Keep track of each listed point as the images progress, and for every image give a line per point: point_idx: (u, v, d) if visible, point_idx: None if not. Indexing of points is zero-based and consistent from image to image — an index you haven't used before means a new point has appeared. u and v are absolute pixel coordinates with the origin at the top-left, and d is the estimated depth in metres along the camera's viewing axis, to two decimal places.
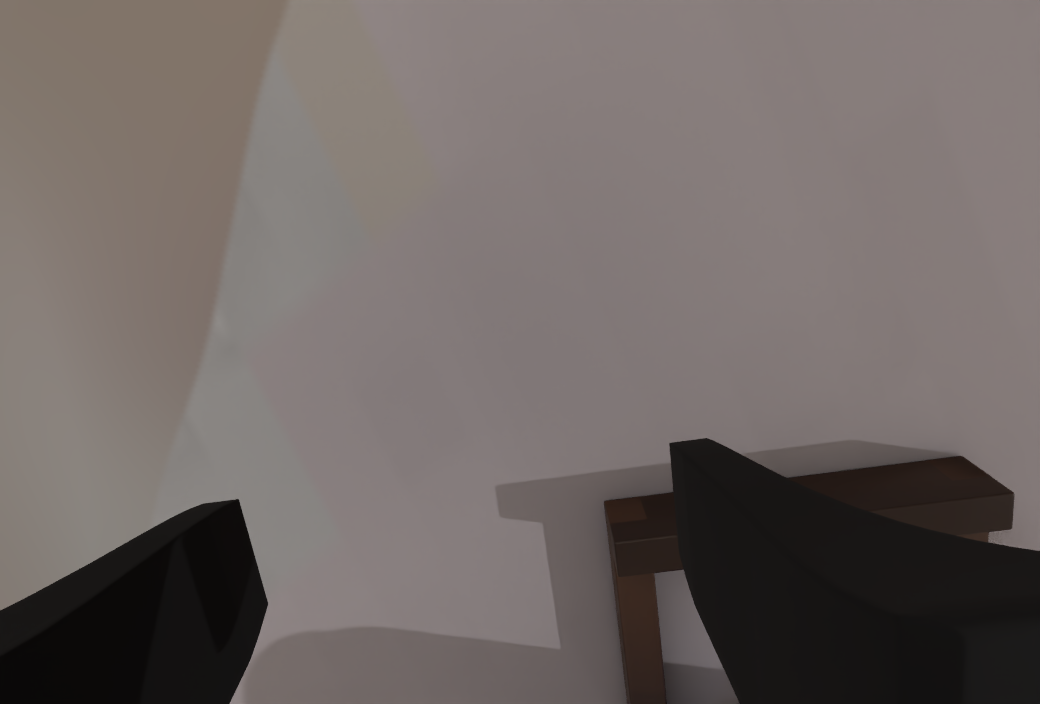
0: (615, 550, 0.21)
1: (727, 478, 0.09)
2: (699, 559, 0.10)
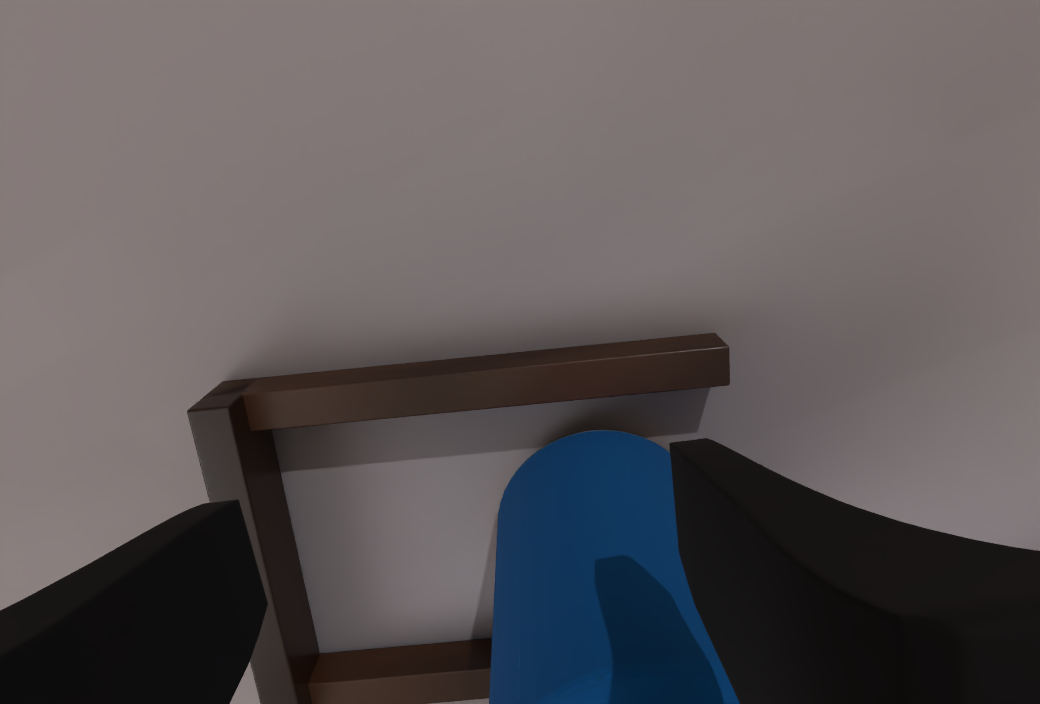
0: None
1: (727, 478, 0.09)
2: (699, 559, 0.10)
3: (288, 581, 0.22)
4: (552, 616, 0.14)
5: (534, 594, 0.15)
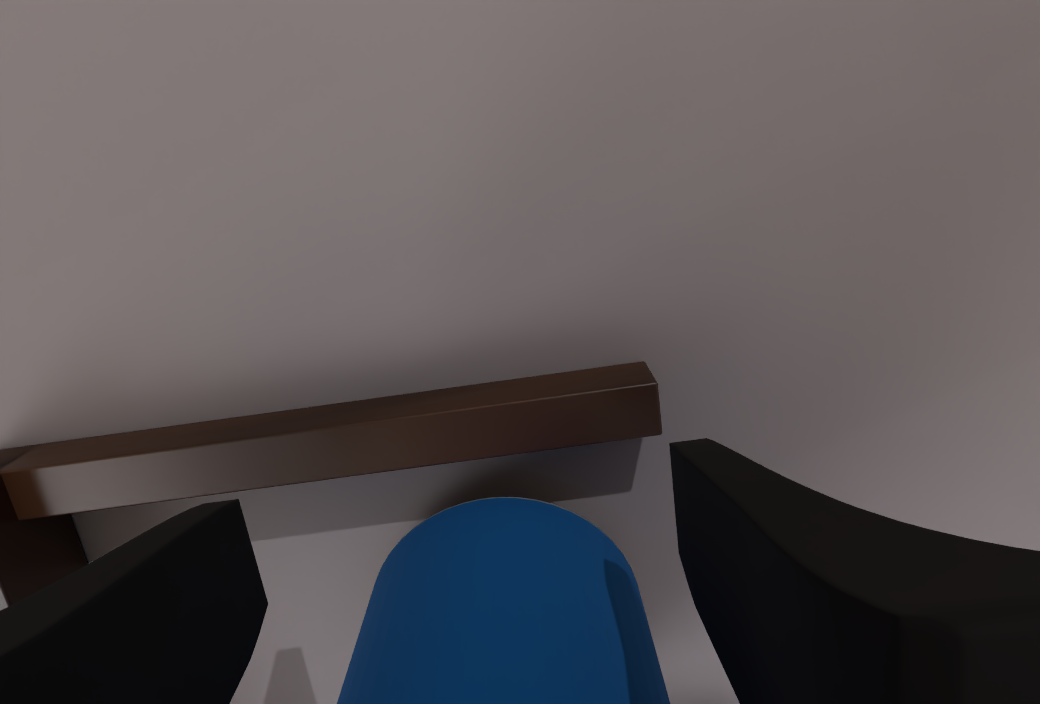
0: None
1: (727, 478, 0.09)
2: (699, 559, 0.10)
3: None
4: None
5: None
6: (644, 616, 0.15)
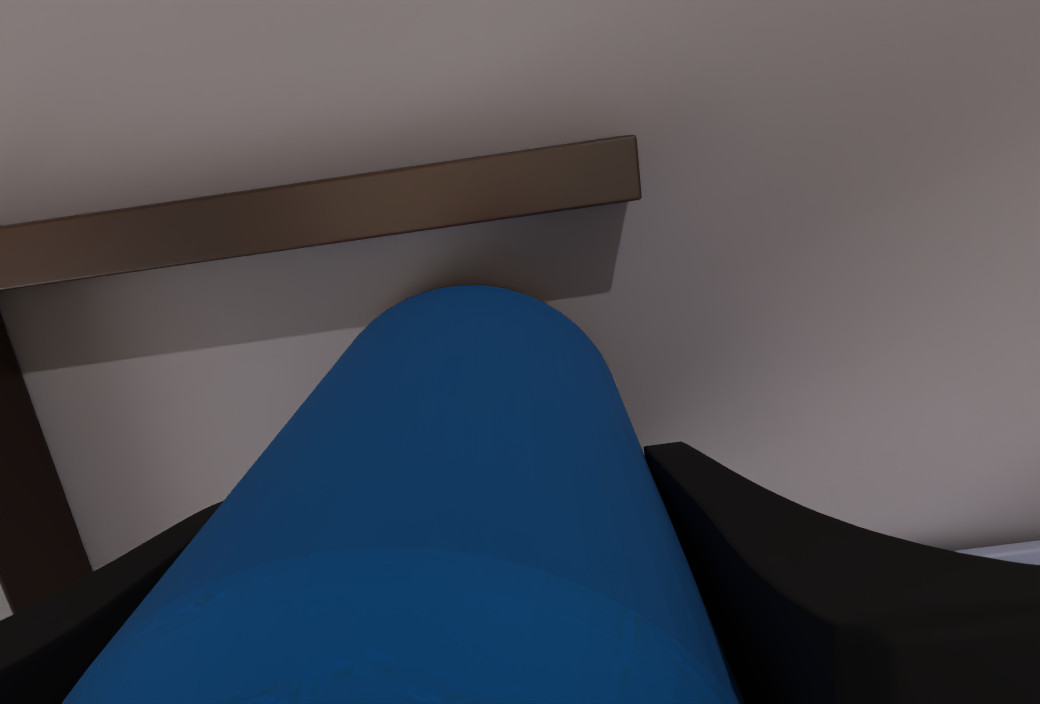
0: None
1: (695, 482, 0.09)
2: None
3: (34, 526, 0.16)
4: (228, 505, 0.07)
5: (241, 481, 0.08)
6: (621, 400, 0.14)
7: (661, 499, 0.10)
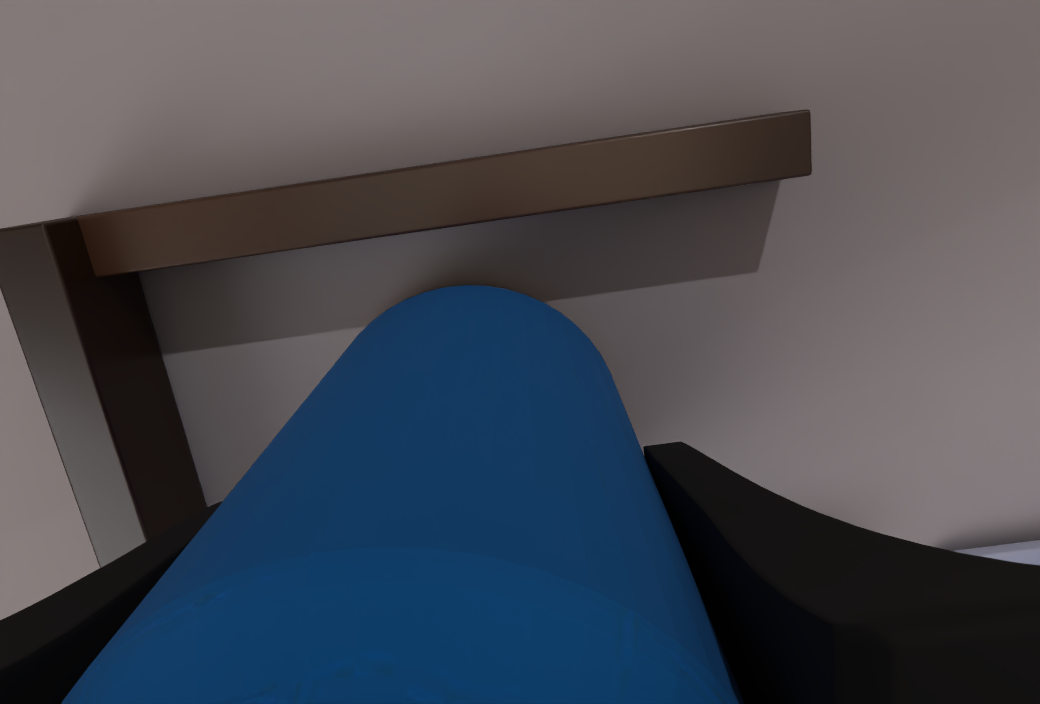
0: None
1: (694, 482, 0.09)
2: None
3: (177, 508, 0.16)
4: (228, 505, 0.07)
5: (240, 481, 0.08)
6: (621, 401, 0.14)
7: (661, 499, 0.10)
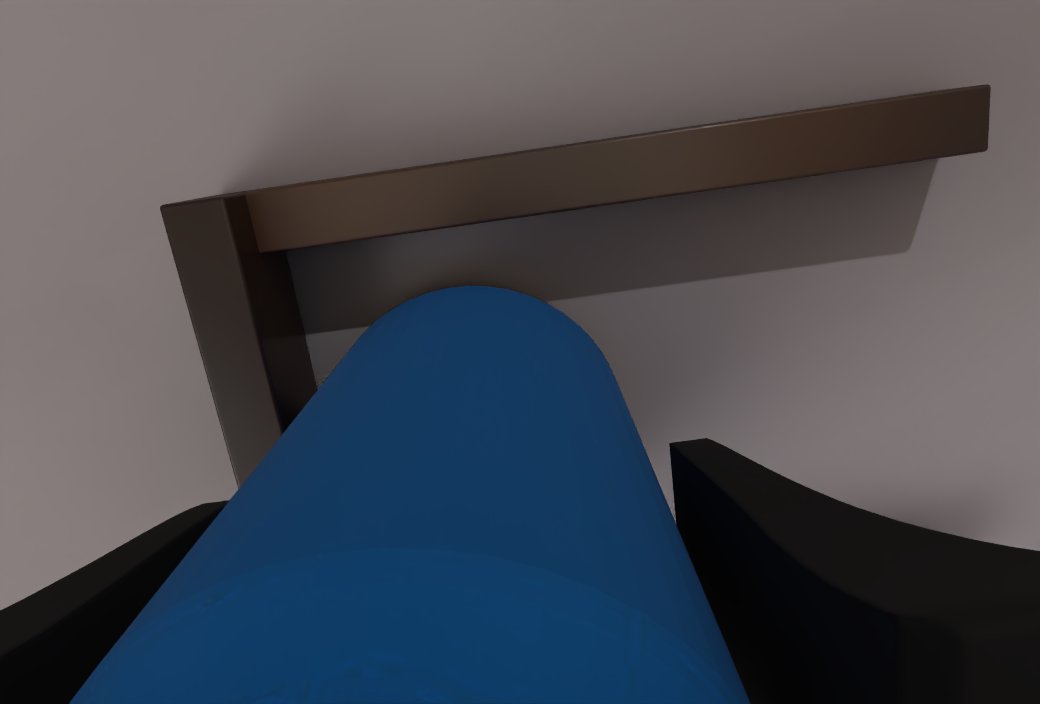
0: None
1: (727, 478, 0.09)
2: (699, 559, 0.10)
3: None
4: (234, 505, 0.07)
5: (245, 482, 0.08)
6: (624, 401, 0.14)
7: (665, 500, 0.10)
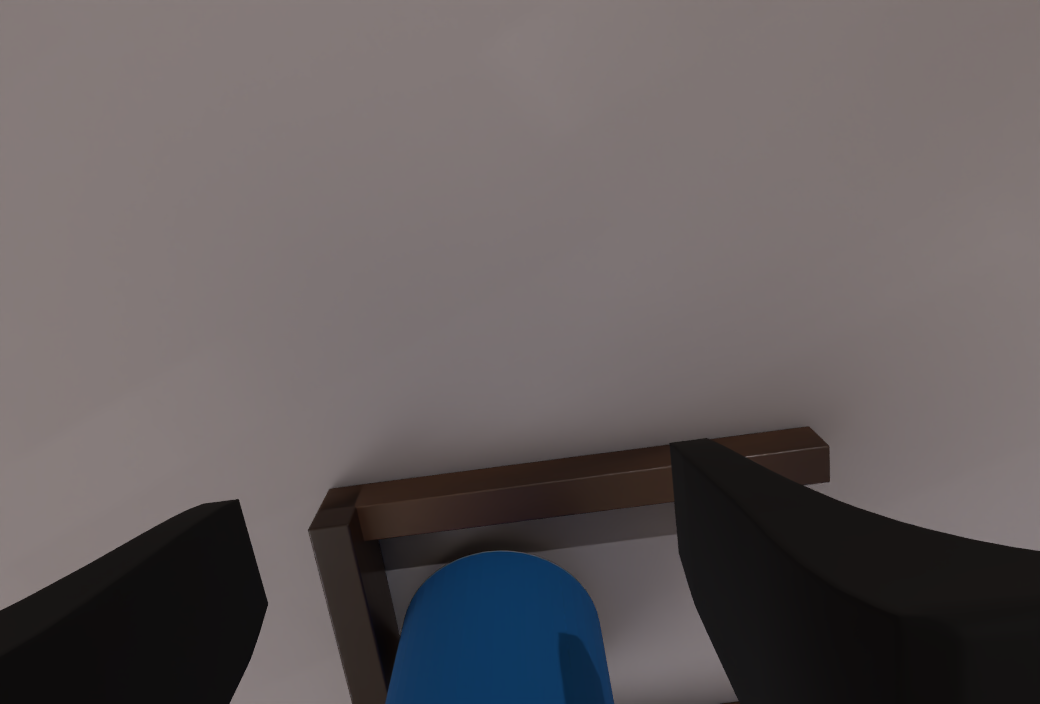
0: None
1: (727, 478, 0.09)
2: (699, 559, 0.10)
3: None
4: None
5: None
6: (599, 638, 0.21)
7: None
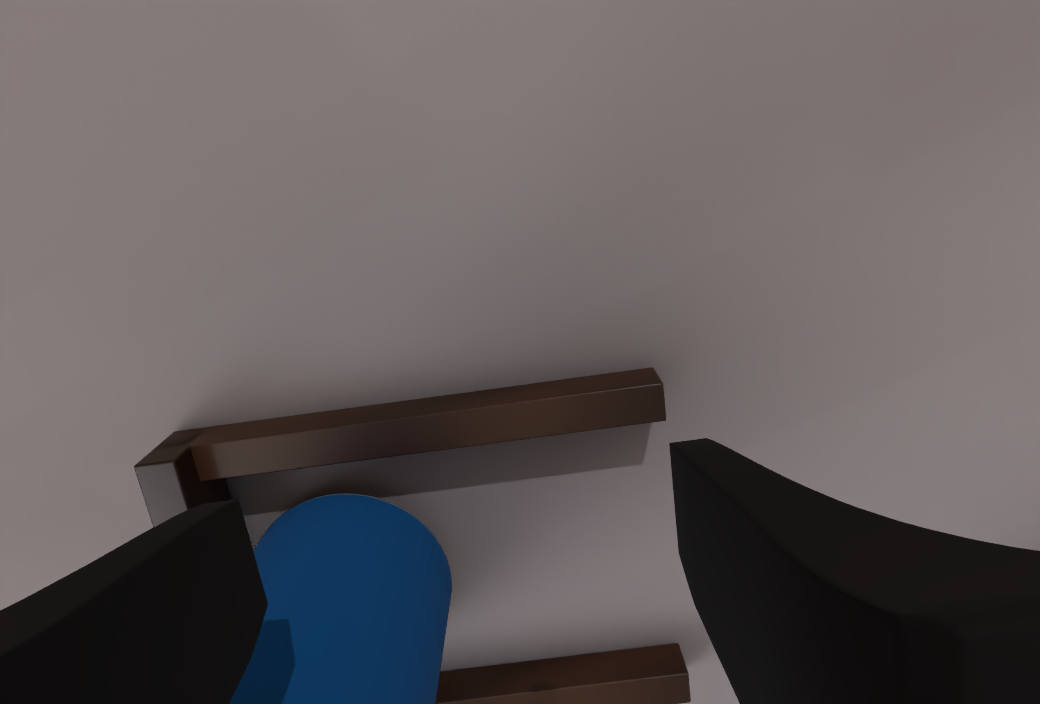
0: None
1: (727, 478, 0.09)
2: (699, 559, 0.10)
3: None
4: None
5: None
6: (436, 578, 0.21)
7: (414, 676, 0.17)
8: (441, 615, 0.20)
